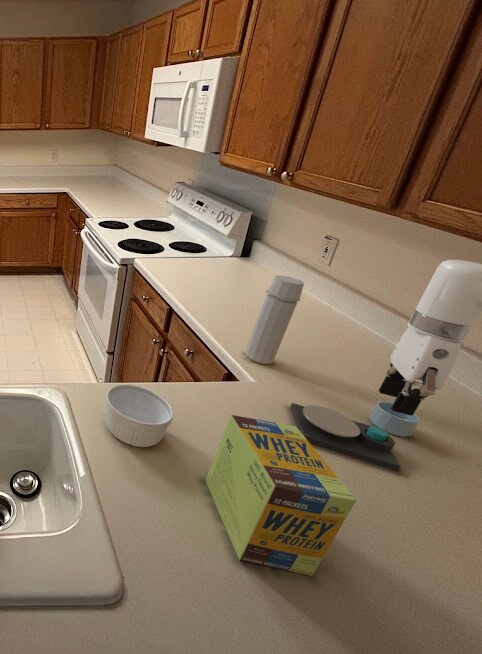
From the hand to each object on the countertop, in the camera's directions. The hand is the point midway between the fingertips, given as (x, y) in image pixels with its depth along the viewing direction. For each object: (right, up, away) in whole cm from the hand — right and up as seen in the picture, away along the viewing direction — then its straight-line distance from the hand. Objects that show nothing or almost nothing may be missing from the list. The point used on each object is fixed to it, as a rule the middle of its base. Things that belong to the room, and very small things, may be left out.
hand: (394, 402), depth 84 cm
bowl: (+10, -9, +11) cm, 17 cm away
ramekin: (-53, -7, +3) cm, 53 cm away
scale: (-6, -9, +6) cm, 13 cm away
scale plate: (-8, -6, +6) cm, 12 cm away
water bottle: (-3, +2, +37) cm, 37 cm away
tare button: (-1, -8, +3) cm, 9 cm away
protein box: (-40, -16, -16) cm, 46 cm away
